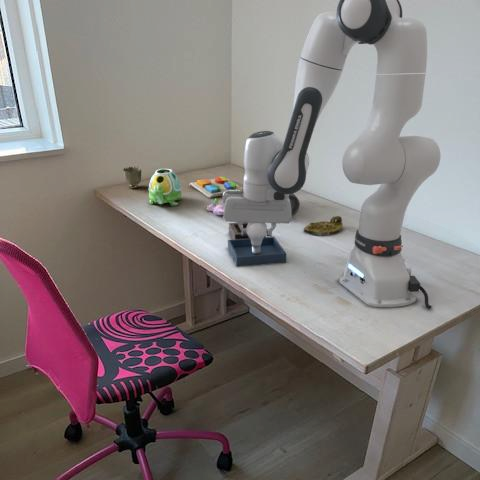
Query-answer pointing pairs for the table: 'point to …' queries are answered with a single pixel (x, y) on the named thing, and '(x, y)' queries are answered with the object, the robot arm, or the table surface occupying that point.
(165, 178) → the turtle holder
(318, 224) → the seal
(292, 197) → the bluetooth speaker
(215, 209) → the rabbit figure
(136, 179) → the cup
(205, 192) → the puzzle board
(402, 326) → the table surface
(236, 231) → the stand
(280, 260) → the tray
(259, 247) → the lightbulb
